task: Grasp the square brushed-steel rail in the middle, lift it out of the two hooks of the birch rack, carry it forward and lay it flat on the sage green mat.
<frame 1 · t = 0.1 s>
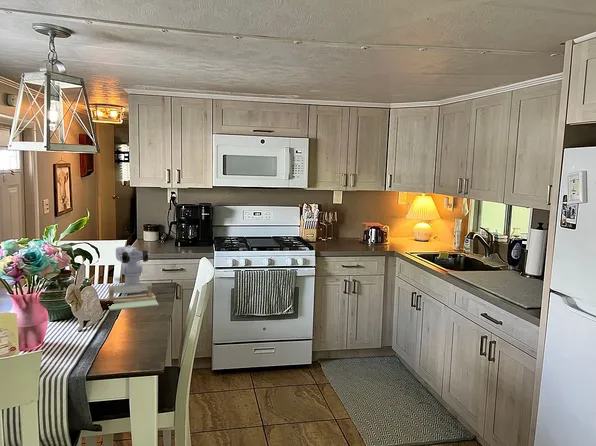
hand: (137, 258, 234), 21 cm above the table, tool horizontal, fingers open, 7 cm apart
mat: (133, 305, 229), on the table
rack: (130, 299, 238), on the table
rail: (130, 291, 237), point 4 cm above the table, touching rack
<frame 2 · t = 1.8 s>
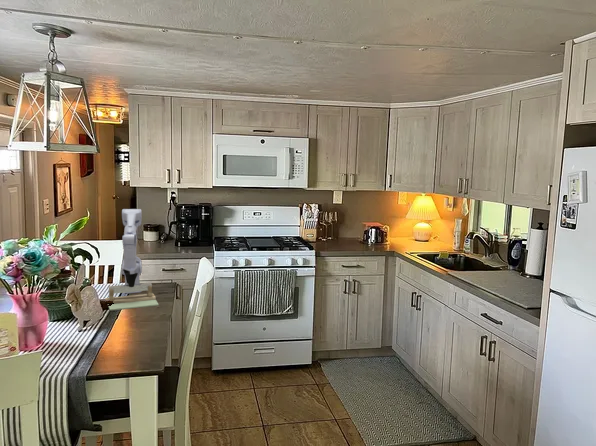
hand: (130, 285, 237), 8 cm above the table, tool pointing down, fingers open, 7 cm apart
nothing on the table moved.
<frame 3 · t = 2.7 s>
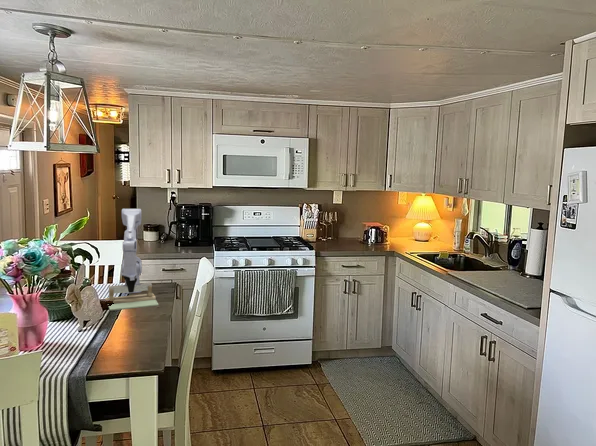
hand: (130, 291, 237), 4 cm above the table, tool pointing down, fingers closed on rail, 3 cm apart
rail: (130, 291, 237), point 4 cm above the table, touching gripper, rack
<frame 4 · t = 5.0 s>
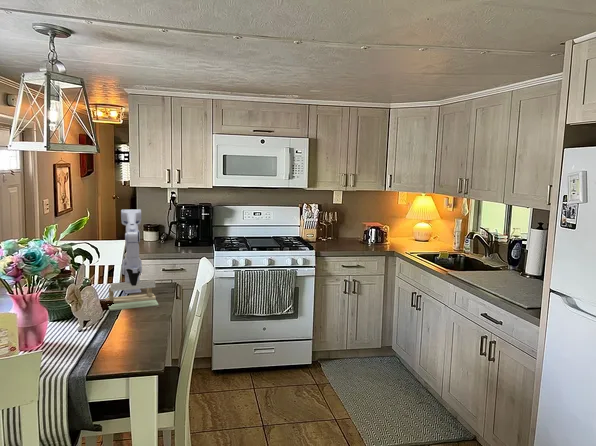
hand: (133, 284, 228), 10 cm above the table, tool pointing down, fingers closed on rail, 3 cm apart
rail: (133, 288, 228), point 8 cm above the table, touching gripper
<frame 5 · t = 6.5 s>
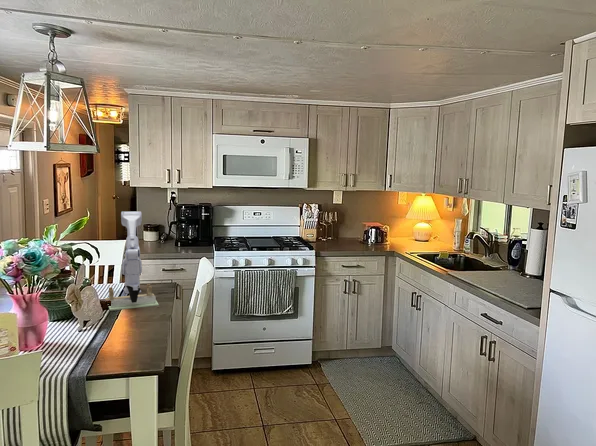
hand: (133, 301, 229), 2 cm above the table, tool pointing down, fingers closed on rail, 3 cm apart
rail: (133, 304, 229), point 1 cm above the table, touching gripper, mat
when the fingers open (2 cm above the table, at t = 7.3 s): rail stays where it is, resting on mat.
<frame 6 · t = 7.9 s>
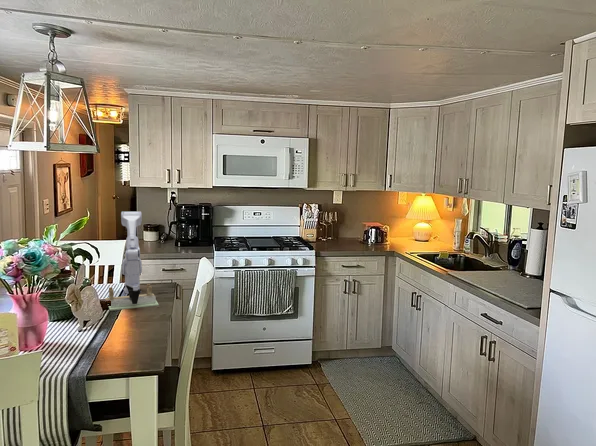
hand: (133, 301, 229), 2 cm above the table, tool pointing down, fingers open, 7 cm apart
rail: (133, 304, 229), point 1 cm above the table, touching mat
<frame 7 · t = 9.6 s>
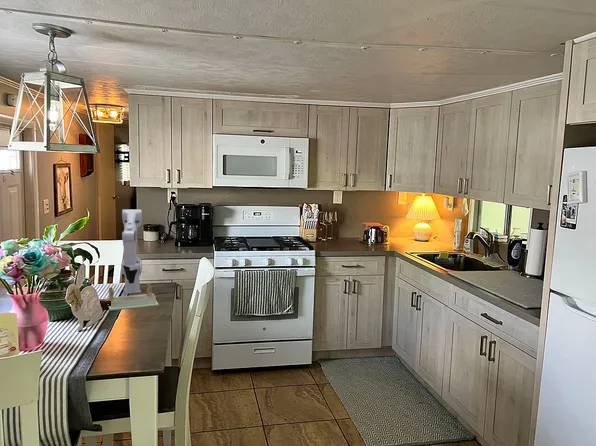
hand: (130, 281, 237), 9 cm above the table, tool pointing down, fingers open, 7 cm apart
nothing on the table moved.
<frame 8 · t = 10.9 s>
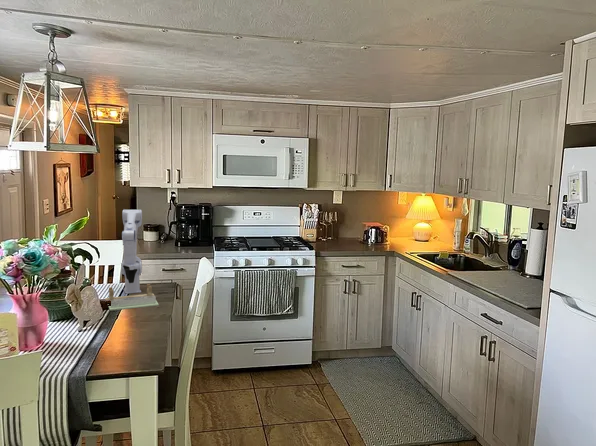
hand: (130, 281, 237), 9 cm above the table, tool pointing down, fingers open, 7 cm apart
nothing on the table moved.
at the end: rail inside the target area (0.0 cm from its centre), point 0.6 cm above the table; the gripper is holding nothing; rail touching mat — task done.
